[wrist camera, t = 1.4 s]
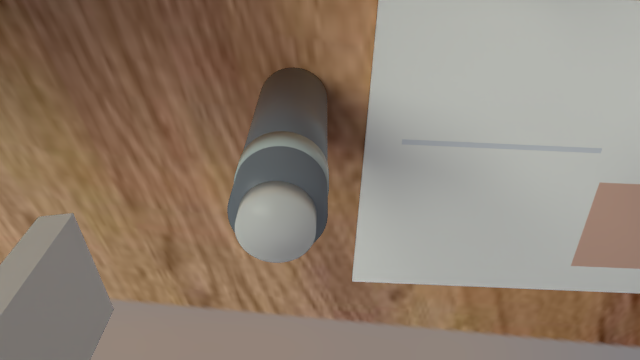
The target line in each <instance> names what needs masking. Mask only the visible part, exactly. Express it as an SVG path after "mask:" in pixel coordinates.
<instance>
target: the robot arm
mask: <svg viewBox="0 0 640 360" xmlns="http://www.w3.org/2000/svg"><path fill="white" fill-rule="evenodd" d="M113 310H114V308H113V306H112V303H111V301H110V299H109V296H108V294H107V292H106V289H105V287H104V285H103V282H102V280H101V278H100V275H99V273H98V270H97V268H96V266H95V263H94V261H93V259H92V256H91V254H90V252H89V249H88V247H87V245H86V242H85V240H84V237H83V235H82V233H81V230H80V228H79V226H78V223H77V221H76V219H75V216H74V214H73V213H69V214H60V215H51V216H41V217H38V218H37V219H36V221H35V222H34V223H33V224H32V226H31V227H30V228H29V229H28V231H27V232H26V233H25V234H24V236H23V237H22V238H21V240H20V241H19V242H18V243H17V245H16V246H15V247H14V248H13V250H12V251H11V252H10V253H9V255H8V256H7V257H6V258H5V260H4V261H3V262H2V263H1V265H0V360H90V359H91V357H92V355H93V353H94V351H95V349H96V346H97V345H98V342H99V340H100V338H101V336H102V334H103V332H104V329H105V327H106V325H107V323H108V321H109V319H110V317H111V314H112V312H113Z"/></svg>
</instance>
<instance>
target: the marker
mask: <svg viewBox="0 0 640 360" xmlns="http://www.w3.org/2000/svg"><path fill="white" fill-rule="evenodd" d="M328 191H329V169H328V163H327V93H326V90H325V88H324V85H323V84H322V82H321V81H320V80H319V79H318V78H317V77H316V76H315V75H314V74H312V73H311V72H309V71H307V70H304V69H300V68H285V69H281V70H279V71H277V72H275V73H273V74H272V75H271V76H270V77H269V78H268V79H267V80H266V81H265V83H264V84H263V86H262V89H261V92H260V95H259V99H258V102H257V106H256V109H255V113H254V116H253V119H252V123H251V126H250V130H249V133H248V137H247V140H246V144H245V147H244V150H243V153H242V155H241V157H240V160H239V163H238V167H237V170H236V173H235V178H234V185H233V188H232V192H231V195H230V199H229V203H228V219H229V222H230V225H231V227H232V229H233V231H234V232H235V234H236V238H237V240H238V242H239V244H240V245H241V246H242V248H243V249H244V250H245V251H246V252H247V253H249V254H250V255H252V256H253V257H255V258H257V259H260V260H263V261H267V262H274V263H281V262H288V261H291V260H294V259H297V258H299V257H300V256H302V255H303V254H305V253H306V252H307V251H308V250H309V249H310V247H311V246H312V244H313V243H314V242H315V241H316V240H317V239H318V238H319V237H320V236H321V234H322V233H323V231H324V229H325V226H326V223H327V217H328Z"/></svg>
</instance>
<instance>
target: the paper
mask: <svg viewBox="0 0 640 360" xmlns="http://www.w3.org/2000/svg"><path fill="white" fill-rule="evenodd" d="M352 281H353V282H377V283H401V284H424V285H448V286H472V287H496V288H520V289H544V290H568V291H592V292H616V293H640V0H378V8H377V19H376V30H375V40H374V51H373V61H372V72H371V82H370V93H369V104H368V114H367V125H366V135H365V146H364V156H363V167H362V178H361V188H360V199H359V209H358V220H357V230H356V241H355V252H354V262H353V273H352Z"/></svg>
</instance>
